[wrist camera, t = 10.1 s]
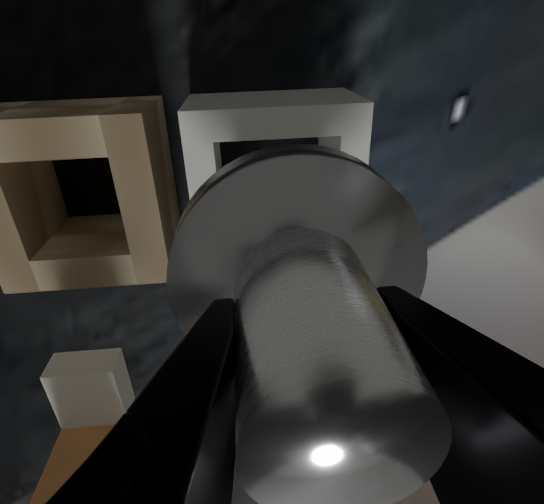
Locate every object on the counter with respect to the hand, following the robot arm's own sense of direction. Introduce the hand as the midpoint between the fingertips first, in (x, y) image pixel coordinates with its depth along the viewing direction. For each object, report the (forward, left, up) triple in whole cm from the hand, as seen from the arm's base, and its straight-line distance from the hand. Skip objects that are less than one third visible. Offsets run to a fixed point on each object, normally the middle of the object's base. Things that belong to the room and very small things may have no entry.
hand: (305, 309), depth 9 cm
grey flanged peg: (0, 0, -6) cm, 6 cm away
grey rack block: (0, 0, -10) cm, 10 cm away
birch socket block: (-7, 0, -10) cm, 13 cm away
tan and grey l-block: (-7, -7, -5) cm, 11 cm away
